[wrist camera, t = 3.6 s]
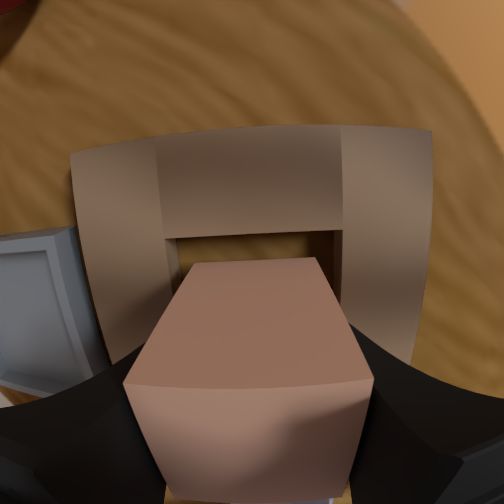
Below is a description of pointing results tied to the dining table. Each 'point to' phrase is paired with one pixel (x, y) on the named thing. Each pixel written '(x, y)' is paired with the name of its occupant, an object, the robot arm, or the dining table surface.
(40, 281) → the tray
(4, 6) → the red pomegranate
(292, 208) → the board
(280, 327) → the block
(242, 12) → the dining table surface
